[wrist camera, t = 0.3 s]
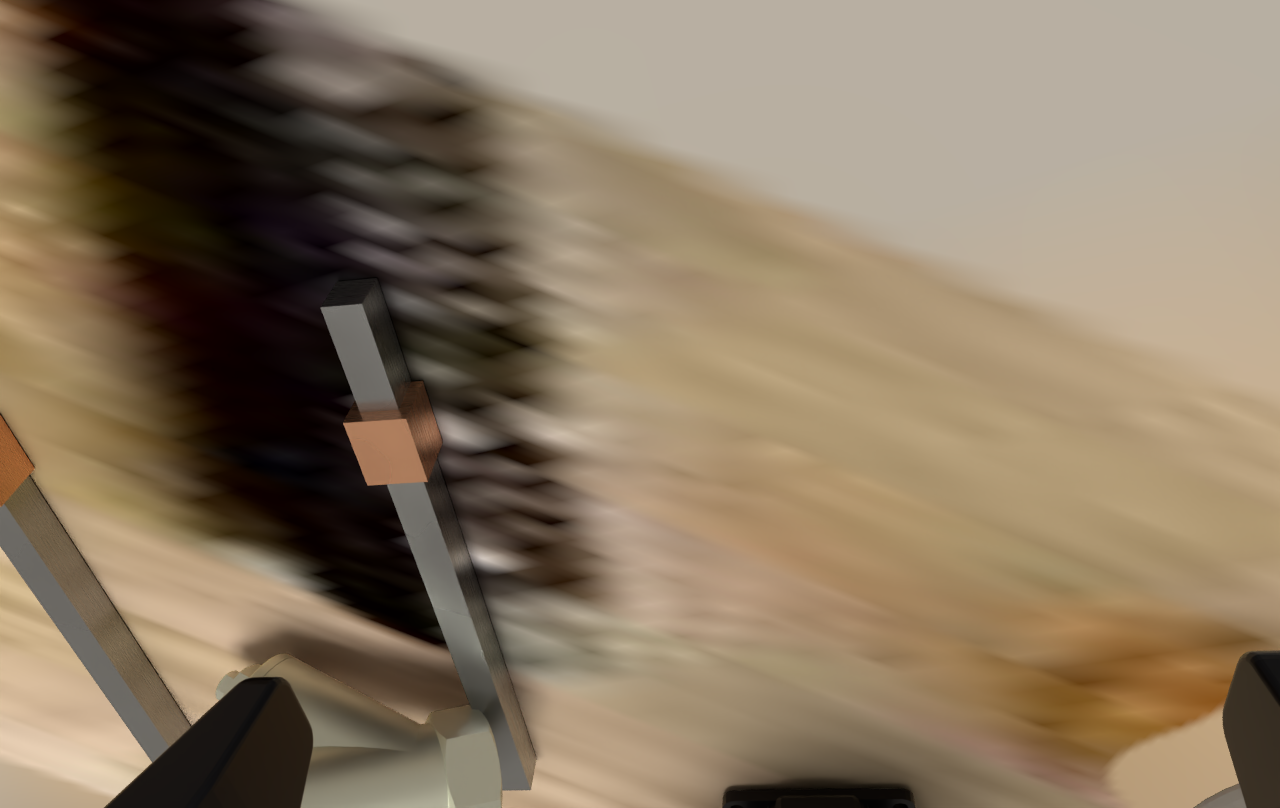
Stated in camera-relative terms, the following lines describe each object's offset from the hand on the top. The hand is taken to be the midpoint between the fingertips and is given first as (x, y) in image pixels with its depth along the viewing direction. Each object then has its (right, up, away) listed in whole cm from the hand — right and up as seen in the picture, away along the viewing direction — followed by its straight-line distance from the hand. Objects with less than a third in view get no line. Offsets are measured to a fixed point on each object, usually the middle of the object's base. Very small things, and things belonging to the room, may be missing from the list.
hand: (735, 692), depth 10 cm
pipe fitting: (-11, -6, +24) cm, 27 cm away
